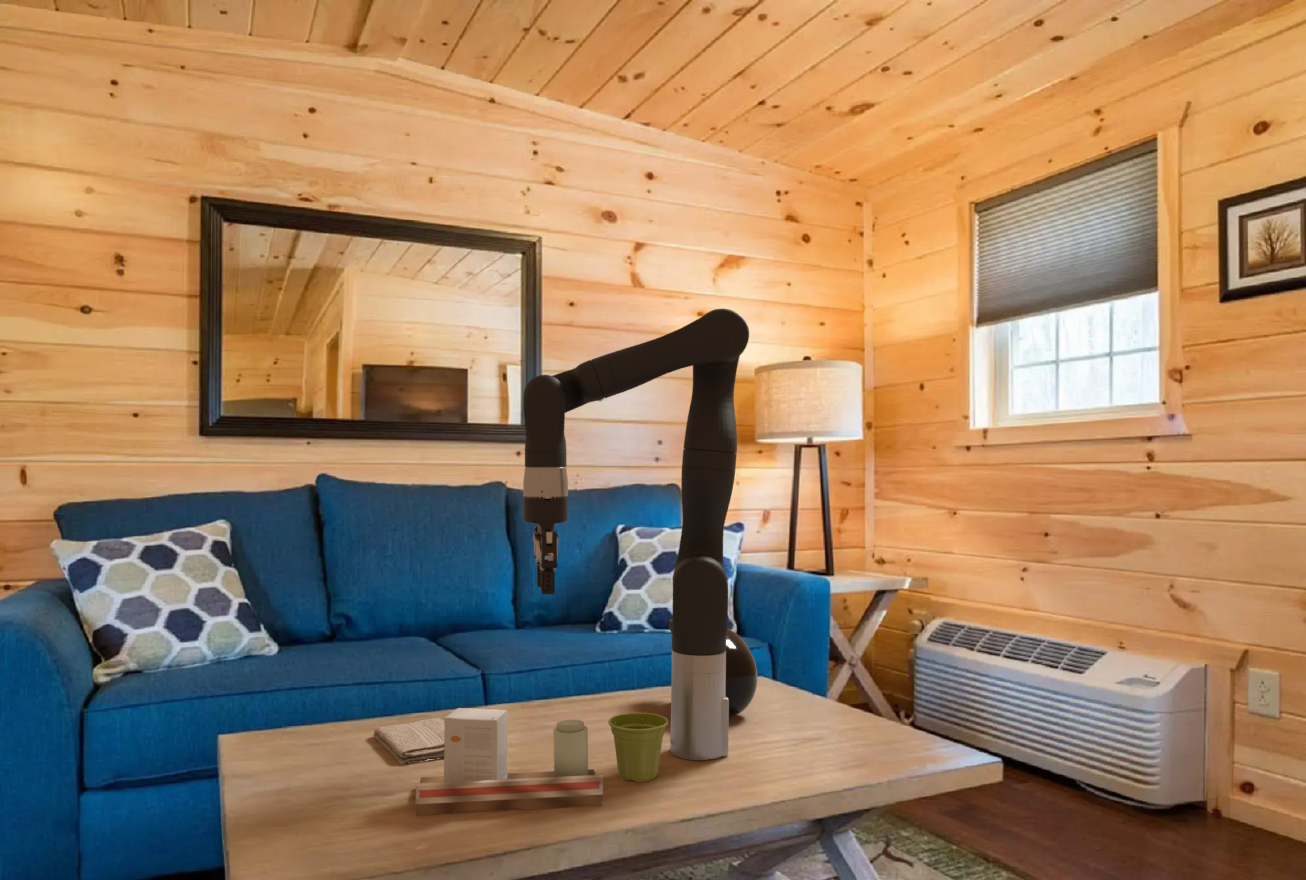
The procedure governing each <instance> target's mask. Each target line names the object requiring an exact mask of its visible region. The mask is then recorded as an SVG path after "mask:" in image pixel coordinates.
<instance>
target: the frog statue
mask: <svg viewBox="0 0 1306 880" xmlns="http://www.w3.org/2000/svg"><path fill="white" fill-rule="evenodd" d="M672 621H673V618H672V619H670V620H669V621H668V622H667V626H668V629H669V630H670V633H671V634H672ZM757 687H758V668H757V665H756V661H755V658H754V656H753V654H752V652H751V650H750V648H749V646H748V645H747V643H746V642H745V640H743V638H742V637H740V636H739V635H738V633H736V632H735V631H734V630H732V629H730V628H727V639H726V687H725V696H726V697H727V698H728V699H729V718H732V717H736V716H737V715H740V713H742V712H744V711H745V710H746V709H747V707H749V705H750V704H751V703H752V701H753V699H754V697H755V694H756V691H757Z"/></svg>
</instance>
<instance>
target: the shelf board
mask: <svg viewBox="0 0 1306 880" xmlns="http://www.w3.org/2000/svg"><path fill="white" fill-rule="evenodd" d="M603 798H604V776H603V774H596V772H595V770H594V769H592V768H591V769H589V768H588V775H584V776H563V777H554V770H552V771H551V770H549V771H547V770H546V771H528V772H507V779H501V780H480V781H459V782H444V775H443V776H442V775H441V776H424V777H423V776H422V777H420V779H419V783H418V782H417V783H415V815H414V816H424V815H425V816H426V815H427V816H428V815H445V814H464V813H467V814H468V813H479V812H480V813H481V812H485V813H486V812H497V811H498V812H500V811H501V812H502V811H517V810H518V811H519V810H537V809H538V810H539V809H556V808H557V809H558V808H574V807H575V808H577V807H594V806H595V807H596V806H604V805H603V803H604V801H603V800H604V799H603Z"/></svg>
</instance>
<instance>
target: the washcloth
mask: <svg viewBox="0 0 1306 880" xmlns="http://www.w3.org/2000/svg"><path fill="white" fill-rule="evenodd" d="M444 735H445V720H443V719H442V718H440V717H436V718H428V719H420V720H418V721H417V720H416V721H414V722H409V723H400V724H392V725H384V726H380V727H376V728H375V729H374V731H373V737H374V739H375V738H376V741H377V742H378V743H379V742H380V743H379V744H381V746H383V748H384V749H385V750H387V751H388V752H389V751H390V752H389V753H390V754H391V755H392V754H393V755H392V756H393V757H394V756H395V757H396V758H395V757H394V758H395V759H396V760H397V761H399V762H398V763H399V764H400V763H401V764H400V765H402V764H403V765H405V764H407V763H406V762H409V763H408V764H413V763H412V762H419V763H421V762H420V761H425V760H427V759H437V758H444ZM437 760H438V759H437ZM404 763H405V764H404Z"/></svg>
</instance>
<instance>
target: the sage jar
mask: <svg viewBox="0 0 1306 880" xmlns="http://www.w3.org/2000/svg"><path fill="white" fill-rule="evenodd" d="M588 730H589V729H588V727H587V726H586V725H585V722H584V721H583V720H580V719H563V720H560V721H558V722H557V723H556V727H554V728H553V771H554V777H563V776H584V775H588V769H589V747H588V746H589V739H588V736H589V735H588Z"/></svg>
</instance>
